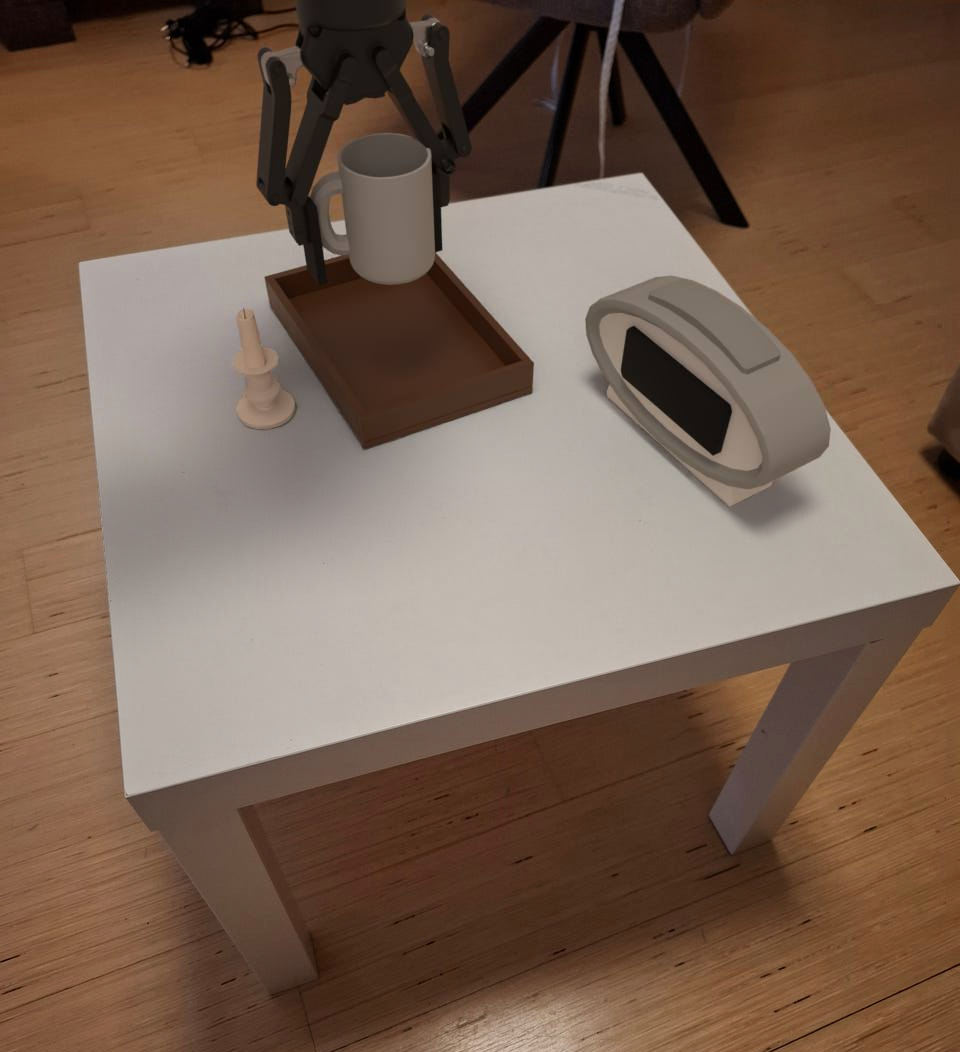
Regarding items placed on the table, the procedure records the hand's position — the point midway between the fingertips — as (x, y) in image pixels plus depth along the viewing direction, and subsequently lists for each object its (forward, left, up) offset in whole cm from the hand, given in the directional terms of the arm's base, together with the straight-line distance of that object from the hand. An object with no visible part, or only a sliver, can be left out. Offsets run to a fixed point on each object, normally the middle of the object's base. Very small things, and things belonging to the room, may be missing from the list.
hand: (375, 259), depth 79 cm
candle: (+1, -12, -11) cm, 16 cm away
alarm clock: (+21, +19, -11) cm, 31 cm away
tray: (-2, +2, -11) cm, 11 cm away
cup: (0, 0, 0) cm, 0 cm away
